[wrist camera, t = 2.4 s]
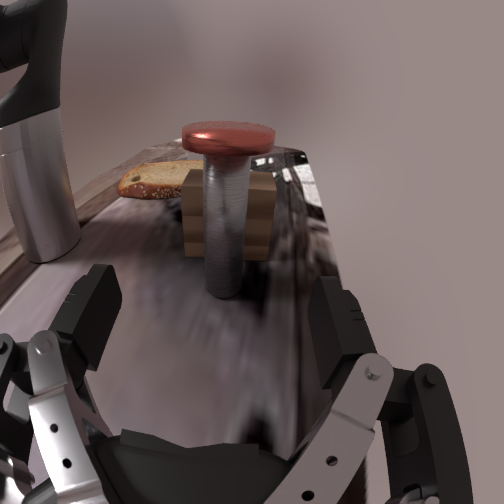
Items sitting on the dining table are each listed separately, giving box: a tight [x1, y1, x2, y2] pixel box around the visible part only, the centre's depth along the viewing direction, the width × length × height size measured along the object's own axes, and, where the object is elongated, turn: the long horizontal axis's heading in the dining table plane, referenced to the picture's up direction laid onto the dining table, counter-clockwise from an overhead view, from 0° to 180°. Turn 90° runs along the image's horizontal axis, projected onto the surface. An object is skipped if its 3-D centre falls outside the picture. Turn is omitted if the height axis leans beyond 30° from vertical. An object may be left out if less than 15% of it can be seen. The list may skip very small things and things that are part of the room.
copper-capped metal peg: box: [182, 121, 275, 298], centre depth 24 cm, size 14×6×14 cm, turn 1°
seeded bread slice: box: [117, 160, 203, 200], centre depth 46 cm, size 18×18×4 cm
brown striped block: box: [181, 169, 277, 261], centre depth 29 cm, size 5×9×8 cm, turn 91°
